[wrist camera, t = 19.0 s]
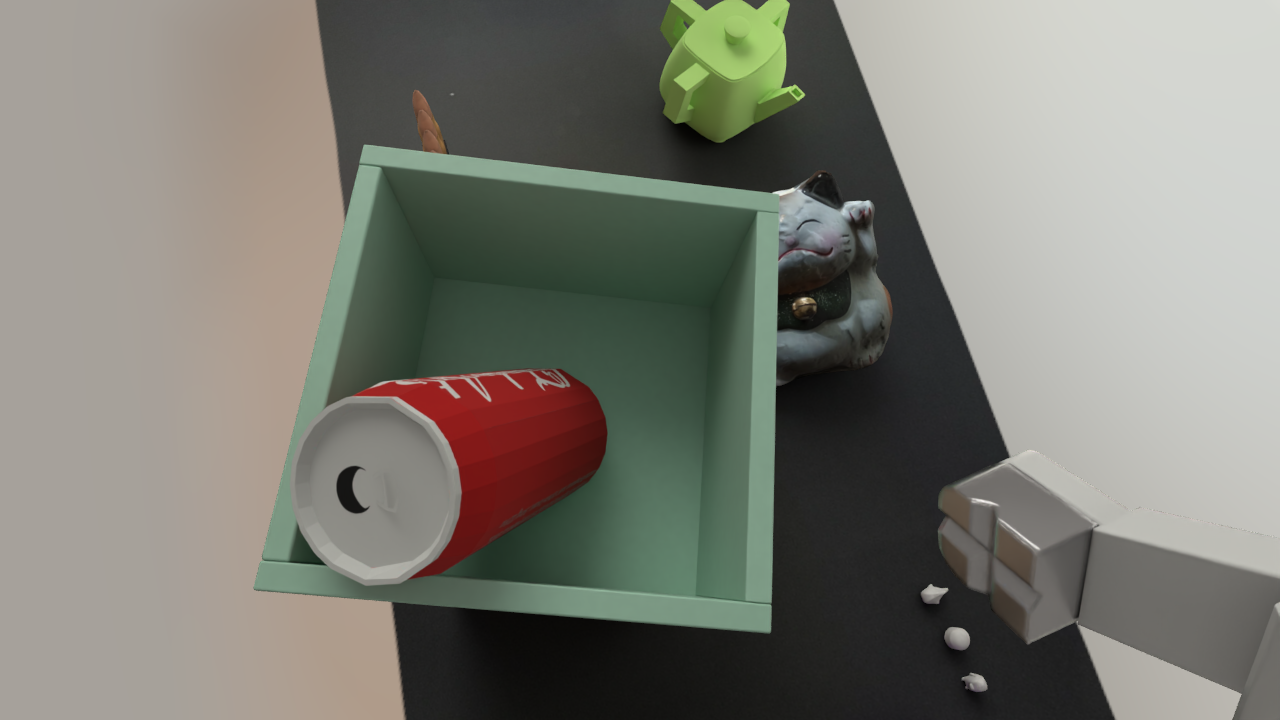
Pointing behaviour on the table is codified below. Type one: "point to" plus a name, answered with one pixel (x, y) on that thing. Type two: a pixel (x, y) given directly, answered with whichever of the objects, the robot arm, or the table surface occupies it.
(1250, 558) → the robot arm
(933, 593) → the game pieces
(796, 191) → the lucky cat figurine
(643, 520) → the planter box
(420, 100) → the bullet clip
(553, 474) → the soda can
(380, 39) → the table surface
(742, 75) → the teapot
